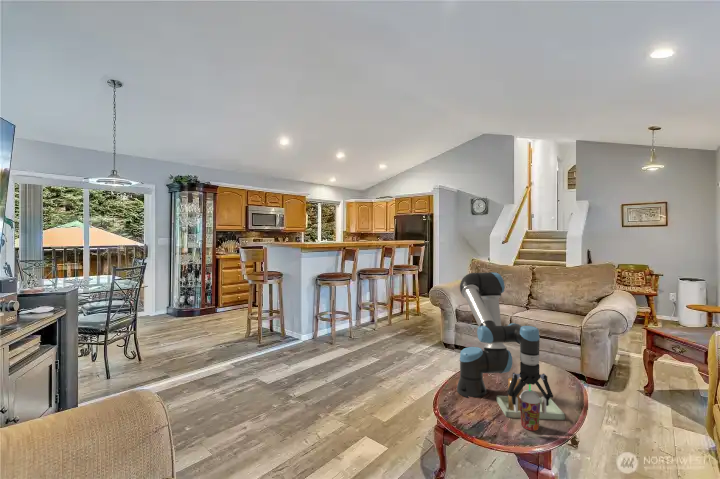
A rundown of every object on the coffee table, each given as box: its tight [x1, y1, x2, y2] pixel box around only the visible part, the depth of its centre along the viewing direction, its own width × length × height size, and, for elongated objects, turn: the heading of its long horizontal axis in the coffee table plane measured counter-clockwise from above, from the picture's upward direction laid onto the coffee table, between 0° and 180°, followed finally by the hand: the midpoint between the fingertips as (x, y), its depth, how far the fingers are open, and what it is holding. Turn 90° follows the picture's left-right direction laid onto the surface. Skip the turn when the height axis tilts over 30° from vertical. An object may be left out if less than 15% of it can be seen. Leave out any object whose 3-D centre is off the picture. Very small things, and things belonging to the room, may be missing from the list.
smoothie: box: [519, 384, 541, 432], centre depth 148 cm, size 8×8×20 cm
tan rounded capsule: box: [507, 376, 524, 411], centre depth 163 cm, size 6×6×14 cm
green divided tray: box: [496, 395, 566, 421], centre depth 162 cm, size 26×15×4 cm, turn 84°
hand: (529, 412), depth 148 cm, fingers open, 11 cm apart
